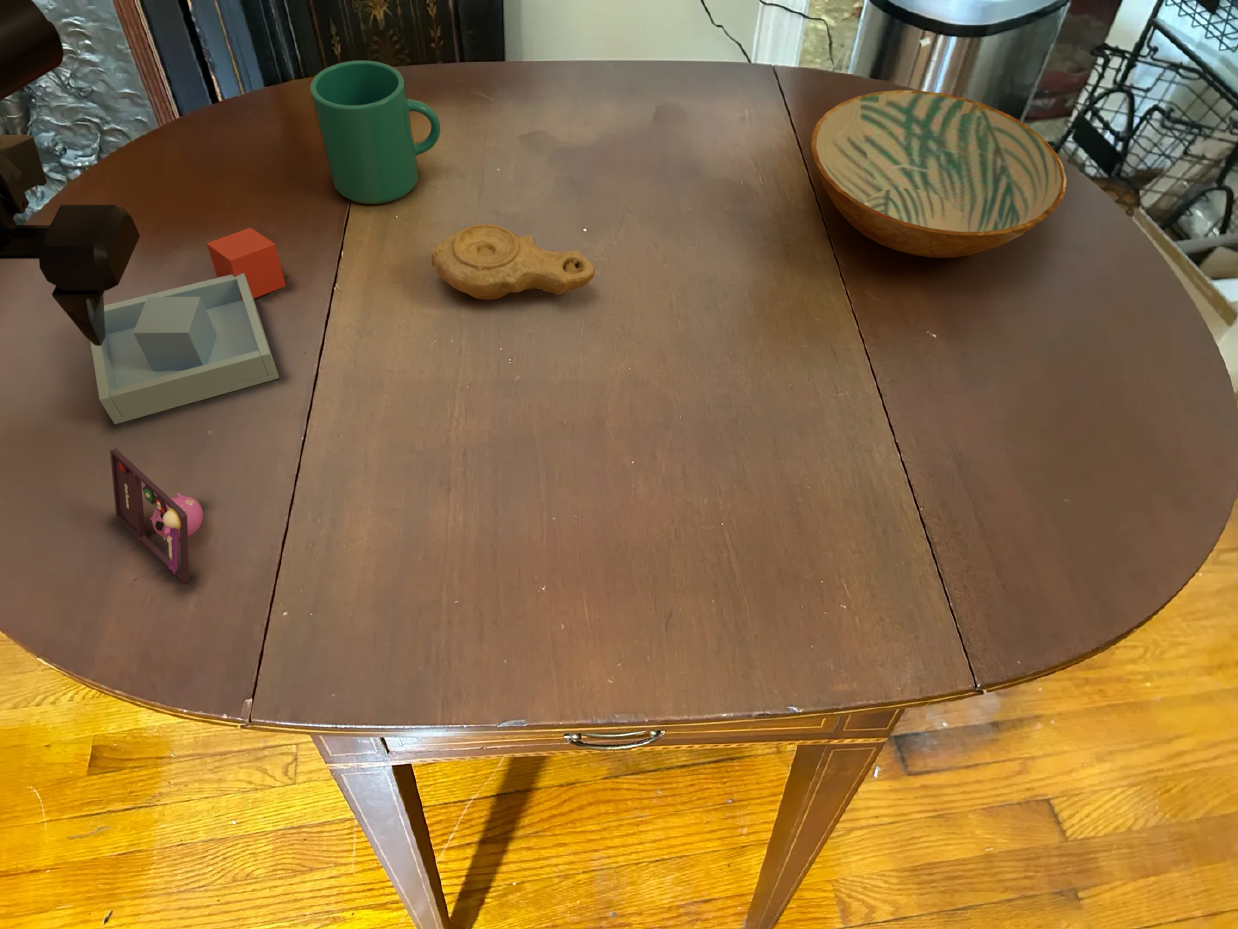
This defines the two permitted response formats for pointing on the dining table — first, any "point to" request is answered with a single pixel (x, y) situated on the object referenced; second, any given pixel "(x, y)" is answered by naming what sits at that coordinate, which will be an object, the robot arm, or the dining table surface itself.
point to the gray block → (175, 333)
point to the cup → (369, 130)
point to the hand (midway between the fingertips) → (34, 342)
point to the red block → (248, 260)
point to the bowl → (935, 172)
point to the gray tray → (230, 367)
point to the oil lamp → (506, 264)
